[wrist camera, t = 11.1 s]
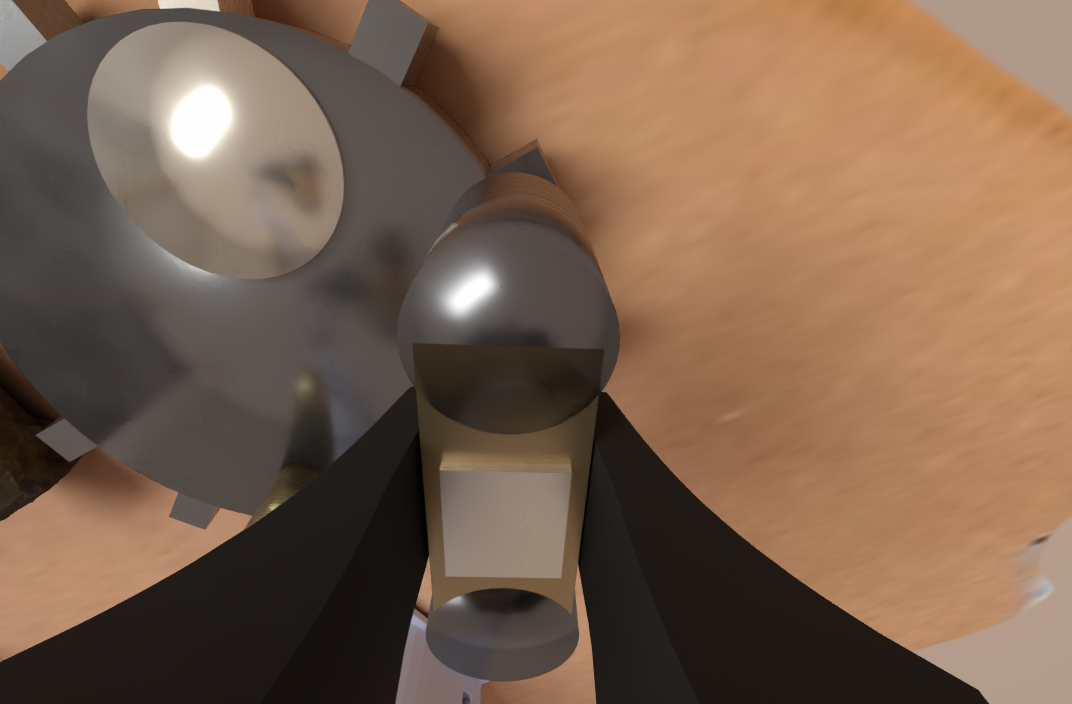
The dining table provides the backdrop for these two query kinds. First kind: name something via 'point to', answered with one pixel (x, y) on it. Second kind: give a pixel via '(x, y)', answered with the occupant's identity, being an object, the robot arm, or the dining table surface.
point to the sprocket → (219, 234)
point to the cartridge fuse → (507, 420)
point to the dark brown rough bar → (25, 458)
